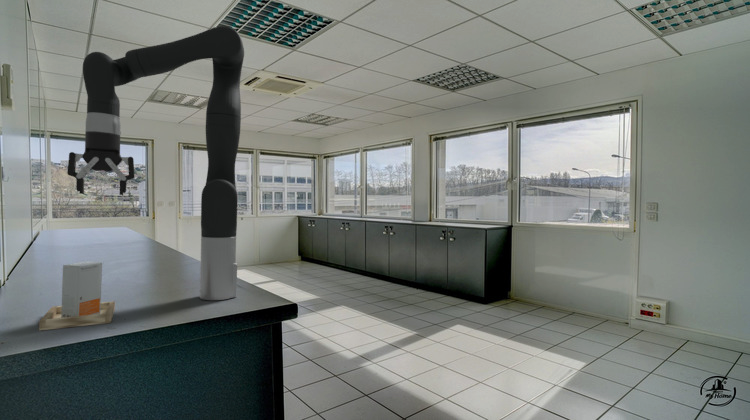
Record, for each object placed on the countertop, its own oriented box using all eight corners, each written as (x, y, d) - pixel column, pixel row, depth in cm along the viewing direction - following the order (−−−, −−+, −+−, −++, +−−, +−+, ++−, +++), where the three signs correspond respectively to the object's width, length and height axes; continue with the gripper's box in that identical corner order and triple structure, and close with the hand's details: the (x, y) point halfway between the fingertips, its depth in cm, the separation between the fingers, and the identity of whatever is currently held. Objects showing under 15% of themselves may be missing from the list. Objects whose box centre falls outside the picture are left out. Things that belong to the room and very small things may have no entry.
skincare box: (76, 321, 83) (77, 266, 83) (60, 319, 84) (61, 264, 84) (101, 313, 89) (103, 262, 89) (86, 312, 90) (87, 261, 90)
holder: (114, 309, 94) (115, 301, 94) (110, 322, 84) (110, 314, 84) (51, 314, 88) (52, 306, 88) (39, 330, 78) (39, 321, 78)
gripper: (66, 127, 94) (65, 193, 94) (134, 134, 101) (133, 195, 102) (71, 131, 101) (70, 193, 101) (135, 137, 108) (134, 195, 108)
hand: (102, 194), depth 101 cm, fingers open, 8 cm apart
